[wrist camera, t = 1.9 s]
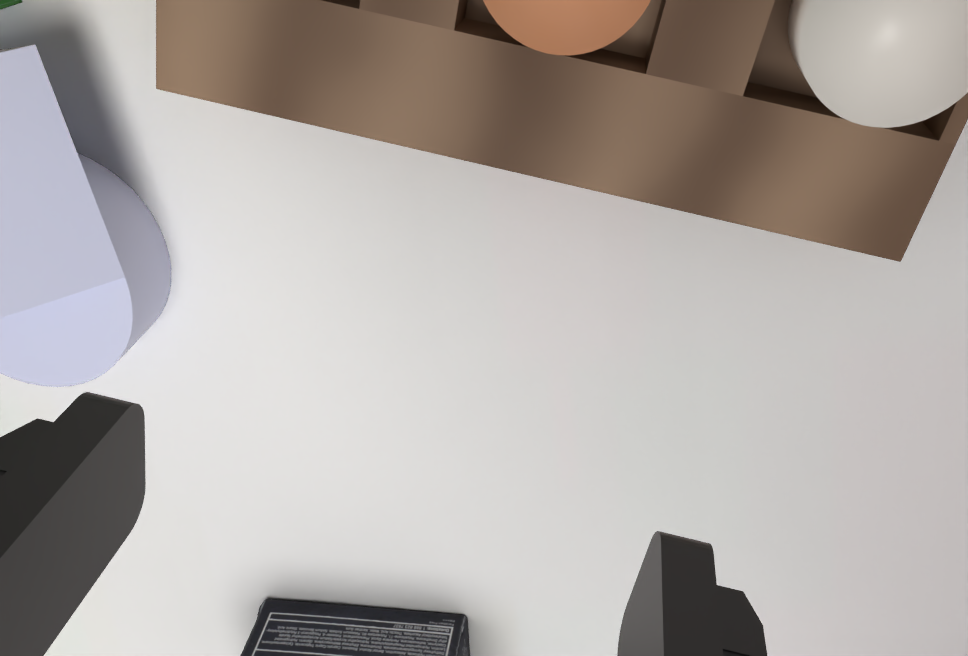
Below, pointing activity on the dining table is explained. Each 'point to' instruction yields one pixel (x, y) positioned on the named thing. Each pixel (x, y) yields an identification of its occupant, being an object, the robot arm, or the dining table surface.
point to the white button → (882, 56)
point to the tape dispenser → (67, 243)
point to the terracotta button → (566, 22)
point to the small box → (354, 631)
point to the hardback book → (8, 3)
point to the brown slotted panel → (578, 105)
